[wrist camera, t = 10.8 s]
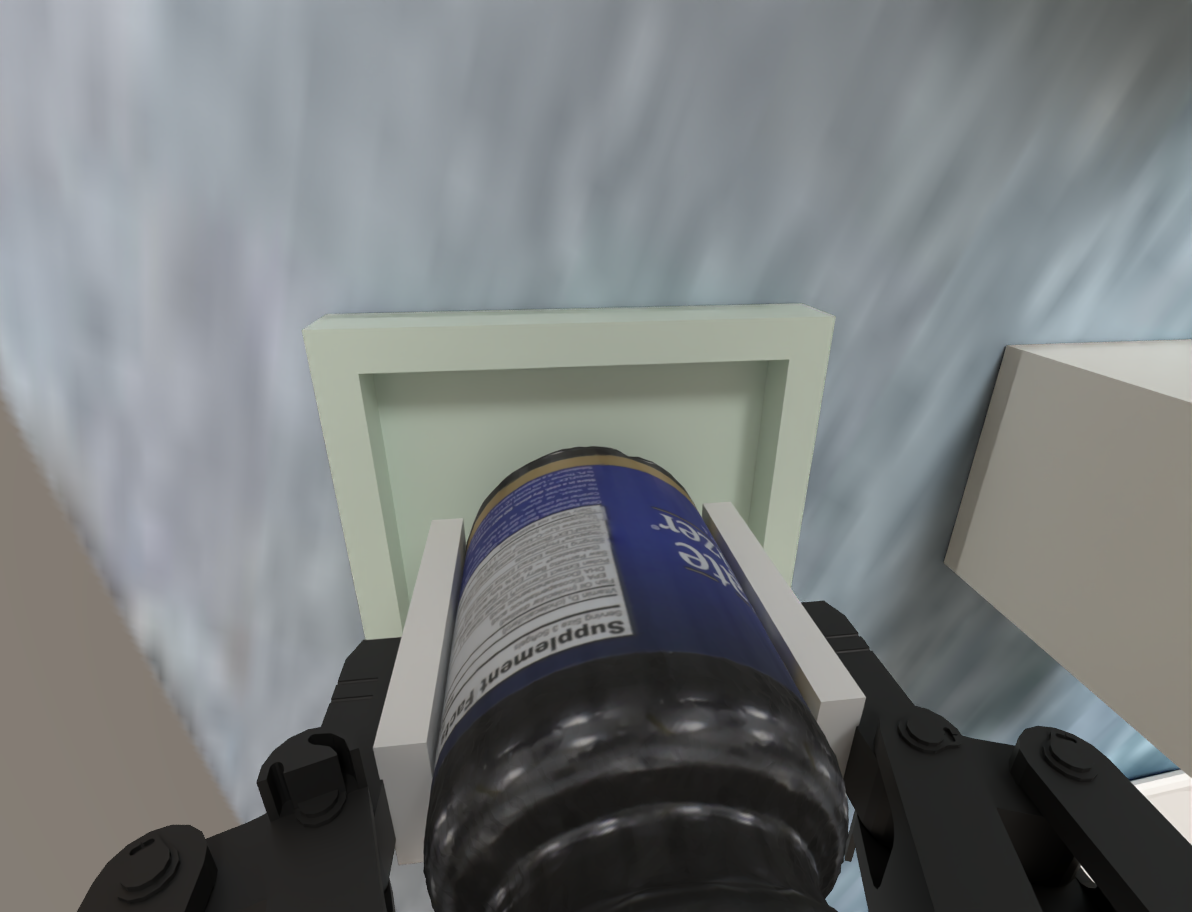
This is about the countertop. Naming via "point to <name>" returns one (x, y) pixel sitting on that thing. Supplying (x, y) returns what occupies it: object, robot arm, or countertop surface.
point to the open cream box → (1092, 521)
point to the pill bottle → (620, 714)
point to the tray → (559, 416)
